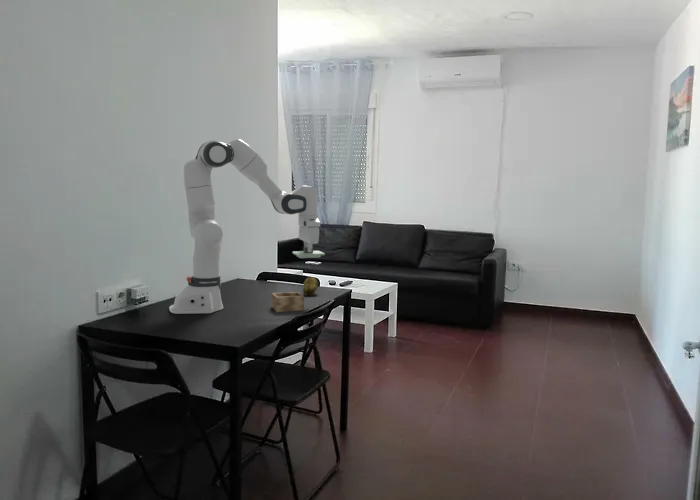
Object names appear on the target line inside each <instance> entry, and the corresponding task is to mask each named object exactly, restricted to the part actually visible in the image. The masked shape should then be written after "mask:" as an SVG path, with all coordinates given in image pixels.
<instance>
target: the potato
mask: <svg viewBox="0 0 700 500" xmlns="http://www.w3.org/2000/svg"><path fill="white" fill-rule="evenodd" d="M318 285H319V284H318V279H317V278H315V277H313V276H312V277H310V276H309V277H307V278H306V279H305V280H304V281H303V285H302V293H303V295H304V296H306V297H307V296H308V297H312V296H313V295H315V292H316V291H317V287H318Z"/></svg>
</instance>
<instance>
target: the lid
mask: <svg viewBox="0 0 700 500" xmlns="http://www.w3.org/2000/svg"><path fill="white" fill-rule="evenodd" d="M292 254H293V255H294V256H296V257H297V258H299V259H312V258H314V259H315V258H316V259H317V258H321V256H325V255H326V254H325V252H323V251H320V250H314V247H313V246H312V251H311V252H307V247H305V246H303V250H299V251H297V250H296V251H295V250H294V251H292Z"/></svg>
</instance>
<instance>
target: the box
mask: <svg viewBox="0 0 700 500" xmlns="http://www.w3.org/2000/svg"><path fill="white" fill-rule="evenodd" d="M271 308H272V309H273V310H274V311H275V312H276V313H281V312H283V313H284V312H296V311H299V312H300V311H305V294H302V293H301V292H299V291H293V292H292V291H291V292H289V291H288V292H286V291H285V292H272V293H271Z"/></svg>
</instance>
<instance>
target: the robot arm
mask: <svg viewBox="0 0 700 500" xmlns="http://www.w3.org/2000/svg"><path fill="white" fill-rule="evenodd" d="M227 164H231V165H232V166H234V168H236V169H237V170H238V171H239V173H241V175H243V176H244V177H245V178H247V179H248V180H249V181H251V182H253V183H254V184H255V185H257V186H258V188H259V189H260V190H262V192H263V193H264V194H265V195H266V196H267V198H268V199H269V200H270V201H271V204H272V207H273V209H274V210H275V211H276V212H277V213H279V214H282V215H296V214H298V225H299V227H298V239H299V240H301V241H303V247H307V252H311V251H312V247H313V244H319V240H320V239H319V238H320V227H321V221H320V220H319V213H318V207H319V196H318V190H317V188H316V187H314V186H311V185H305V184H304V185H303V184H302V185H301V184H300V186H299V187H297V188H295V189H294V190H292V191H288V192H287V191H284V190H282V189H281V188H280V187H278V185H277V184H276V183H275V182H274V181H273V179H271V178H270V176H269V175H268V166H267V163H266V161H265V160H264V159H263V158H262V156H261V155H260V154H259V153H258V152H257V151H256V150H255V149H254V148H253V147H252V146H251V145H249V144H248V143H246V142H245V141H244V140H242V139H239V138H235V139H232V140H230V141H229V142H228V143H225V142H222V141H217V140H209V141H205V142H204V143H203V144H201V146H200V147H199V149H198V150H197V154H196V156H195V159H191V160H188V161H186V163H185V164H184V165H183V182H184V184H183V185H184V189H185V195H186V202H187V207H188V208H187V209H188V210H187V211H188V223H189V231H190V235H191V236H190V237H192V238H193V240H194V250H193V256H192V276H186V278H185V279H186V281H187V286H185V287H184V288H183V289H181V291H179V292H178V293H177V294H176V296H175V299H174V303H173V304H171V305H170V306H169V307H168V309H169V312H170V313H172V314H173V315H174V314H176V315H177V314H178V315H181V314H184V315H188V314H212V313H214V312H218V311H221V310H223V309H224V305H223V301H222V295H221V287H222V286H221V285H222V282H221V281H222V279H221V275H220V257H221V256H220V254H221V249H222V239H223V234H224V233H223V228H222V227H221V225H220V224H219V223H218V222H217V221H216V219H215V218H216V216H215V204H216V202H215V197H214V196H215V195H214V190H213V184H212V179H211V175H212V170H213V169H214V168H221V167H223V166H225V165H227Z"/></svg>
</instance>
